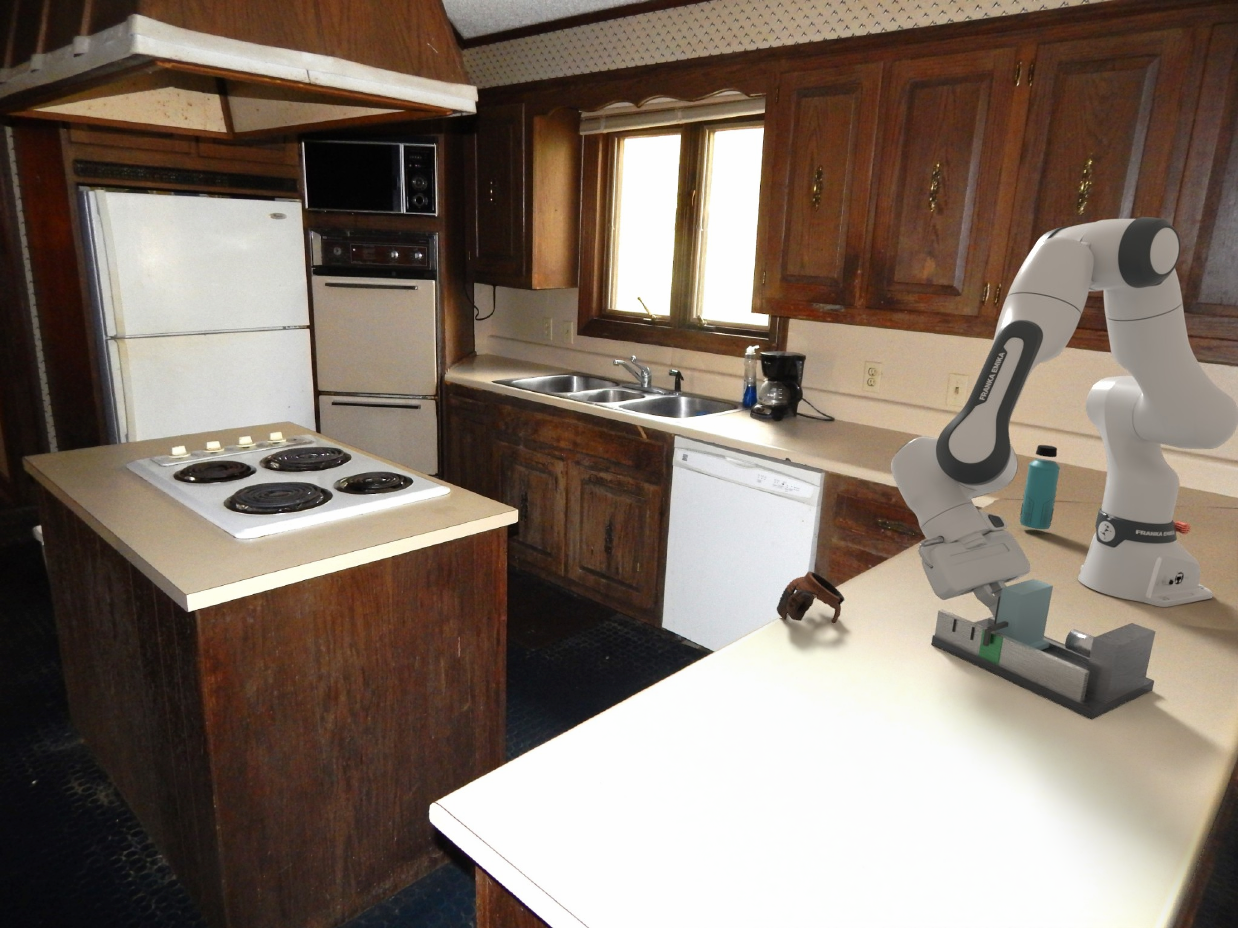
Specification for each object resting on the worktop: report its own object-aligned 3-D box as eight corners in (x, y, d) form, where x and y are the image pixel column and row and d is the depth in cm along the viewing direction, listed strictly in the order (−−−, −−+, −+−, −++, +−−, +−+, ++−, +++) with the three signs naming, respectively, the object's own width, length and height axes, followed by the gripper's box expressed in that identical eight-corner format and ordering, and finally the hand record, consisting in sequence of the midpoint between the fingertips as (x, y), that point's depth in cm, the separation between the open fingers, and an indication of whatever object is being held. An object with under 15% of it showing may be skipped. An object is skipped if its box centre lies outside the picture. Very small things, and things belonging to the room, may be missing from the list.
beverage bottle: (1053, 537, 180) (1069, 450, 175) (1021, 534, 181) (1036, 447, 176) (1044, 528, 186) (1059, 444, 181) (1013, 525, 187) (1027, 441, 183)
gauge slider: (966, 651, 117) (976, 590, 114) (1017, 633, 123) (1027, 576, 121) (998, 665, 112) (1009, 603, 110) (1048, 647, 119) (1059, 587, 117)
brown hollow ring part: (781, 602, 137) (810, 565, 135) (825, 640, 133) (856, 602, 131) (759, 607, 127) (790, 567, 125) (806, 648, 123) (839, 607, 121)
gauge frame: (931, 644, 122) (939, 586, 120) (993, 624, 131) (1002, 569, 129) (1091, 719, 103) (1105, 651, 101) (1152, 690, 111) (1166, 626, 109)
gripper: (928, 532, 118) (978, 618, 113) (1009, 515, 129) (1058, 593, 123) (899, 551, 123) (946, 635, 117) (980, 533, 134) (1026, 610, 128)
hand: (1004, 613), depth 120 cm, fingers closed, pressing on gauge slider
